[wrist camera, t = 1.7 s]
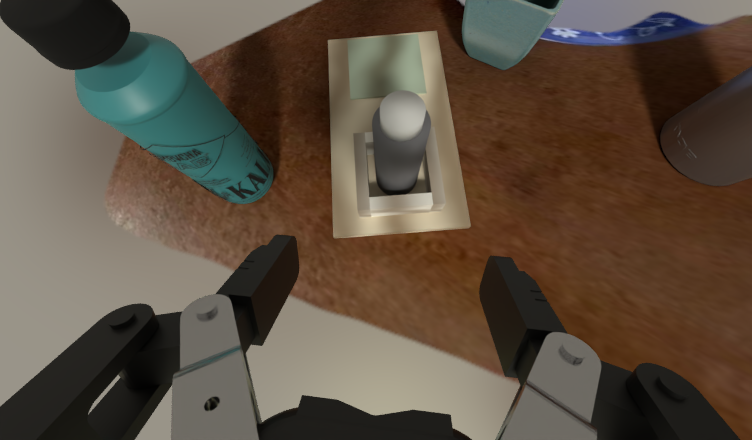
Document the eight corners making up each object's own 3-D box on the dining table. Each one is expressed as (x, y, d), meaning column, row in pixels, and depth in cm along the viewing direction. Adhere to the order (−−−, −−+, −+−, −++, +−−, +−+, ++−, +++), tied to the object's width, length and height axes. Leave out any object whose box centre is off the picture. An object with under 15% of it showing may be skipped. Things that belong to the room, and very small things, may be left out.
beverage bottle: (219, 168, 31) (-42, -37, 12) (274, 150, 32) (107, -77, 13) (230, 219, 30) (-55, 72, 10) (289, 199, 30) (119, 21, 11)
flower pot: (476, 15, 37) (504, -72, 28) (539, 39, 35) (589, -45, 27) (446, 61, 35) (466, -18, 26) (512, 89, 33) (556, 15, 25)
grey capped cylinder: (414, 157, 30) (430, 80, 20) (419, 194, 29) (438, 134, 18) (374, 160, 30) (369, 86, 20) (377, 198, 29) (373, 139, 18)
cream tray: (435, 36, 36) (440, 10, 33) (468, 228, 28) (478, 219, 25) (329, 45, 36) (323, 21, 33) (334, 238, 29) (328, 230, 25)
